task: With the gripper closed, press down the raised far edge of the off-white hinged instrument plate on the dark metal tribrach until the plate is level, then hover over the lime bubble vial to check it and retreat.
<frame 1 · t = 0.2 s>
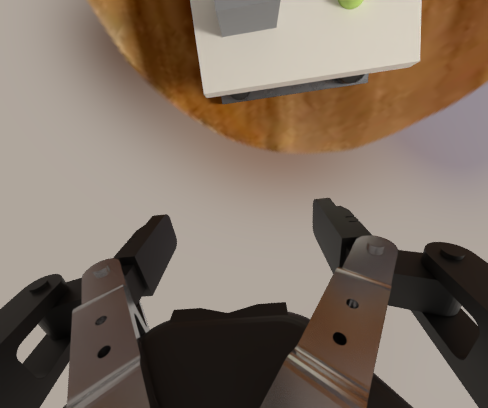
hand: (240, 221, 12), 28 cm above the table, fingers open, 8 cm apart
tribrach base: (288, 32, 30), on the table
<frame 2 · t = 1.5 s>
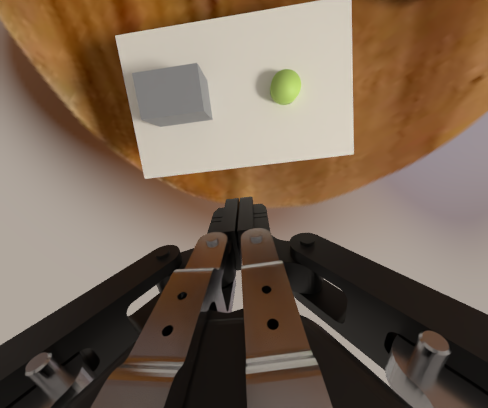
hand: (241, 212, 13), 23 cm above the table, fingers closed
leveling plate: (236, 94, 22), point 10 cm above the table, hinge at -15.0°
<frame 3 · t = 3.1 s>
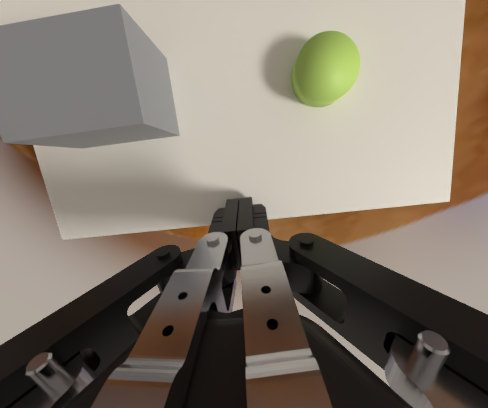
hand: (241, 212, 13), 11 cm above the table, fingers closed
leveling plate: (224, 86, 11), point 10 cm above the table, hinge at -14.9°, touching gripper
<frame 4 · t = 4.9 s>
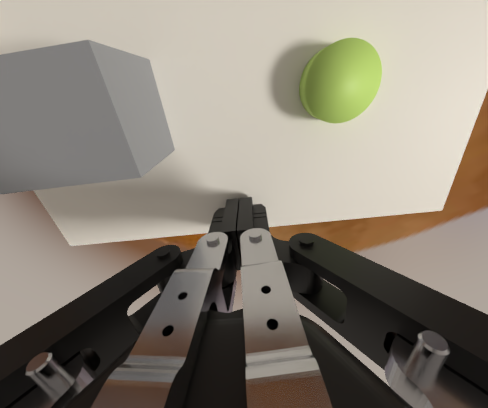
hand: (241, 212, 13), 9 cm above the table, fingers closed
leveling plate: (222, 100, 9), point 10 cm above the table, hinge at 1.9°
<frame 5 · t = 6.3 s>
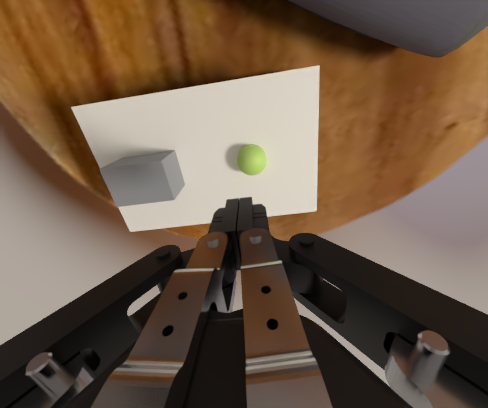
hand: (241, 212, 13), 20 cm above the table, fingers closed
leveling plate: (205, 166, 22), point 10 cm above the table, hinge at 1.9°
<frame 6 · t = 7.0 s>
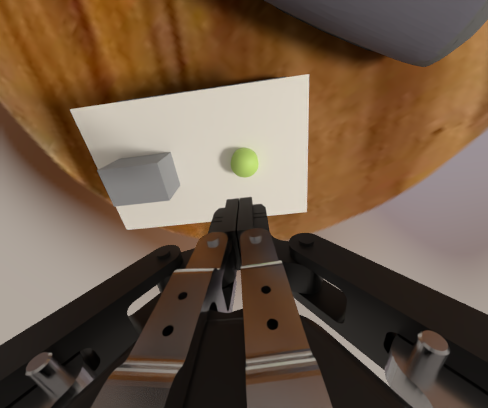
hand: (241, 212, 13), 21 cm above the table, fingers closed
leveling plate: (200, 168, 23), point 10 cm above the table, hinge at 1.9°
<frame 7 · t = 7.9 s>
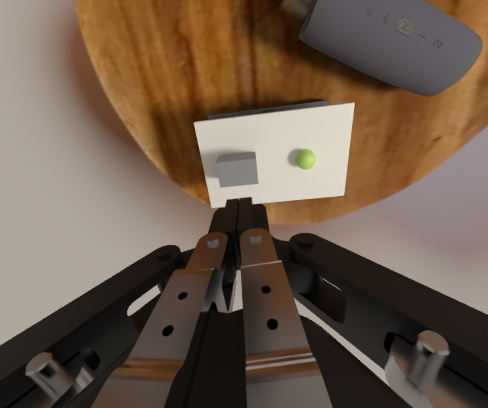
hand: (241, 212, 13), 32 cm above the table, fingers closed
tribrach base: (269, 150, 43), on the table
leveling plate: (274, 163, 34), point 10 cm above the table, hinge at 1.9°
bluetooth speaker: (365, 46, 35), on the table
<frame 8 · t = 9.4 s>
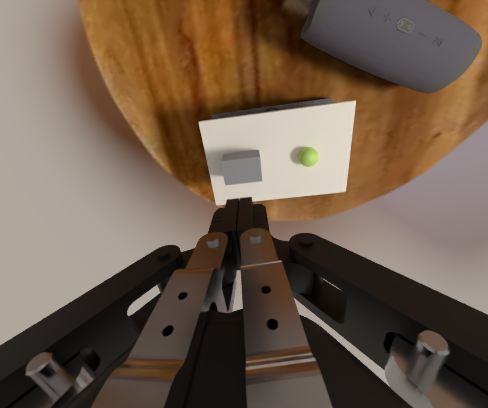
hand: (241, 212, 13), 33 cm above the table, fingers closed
tribrach base: (272, 148, 43), on the table
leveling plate: (278, 160, 35), point 10 cm above the table, hinge at 1.9°
bluetooth speaker: (365, 44, 36), on the table
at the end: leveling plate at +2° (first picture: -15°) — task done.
